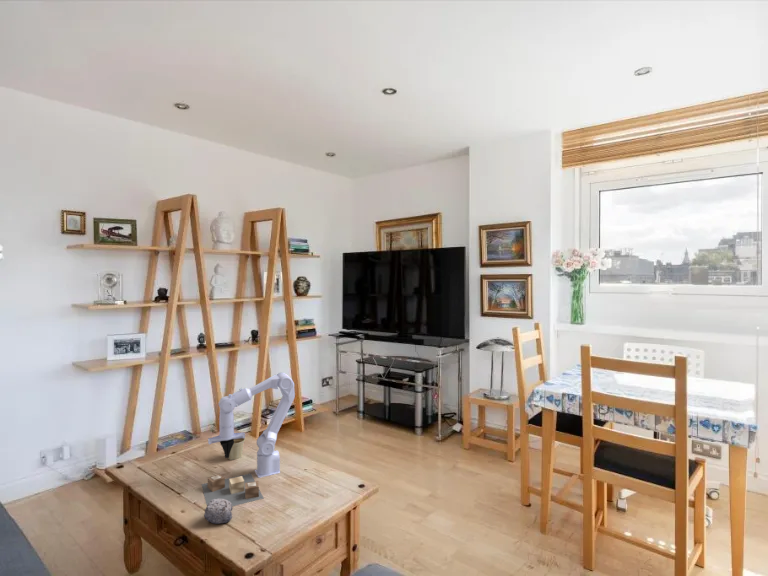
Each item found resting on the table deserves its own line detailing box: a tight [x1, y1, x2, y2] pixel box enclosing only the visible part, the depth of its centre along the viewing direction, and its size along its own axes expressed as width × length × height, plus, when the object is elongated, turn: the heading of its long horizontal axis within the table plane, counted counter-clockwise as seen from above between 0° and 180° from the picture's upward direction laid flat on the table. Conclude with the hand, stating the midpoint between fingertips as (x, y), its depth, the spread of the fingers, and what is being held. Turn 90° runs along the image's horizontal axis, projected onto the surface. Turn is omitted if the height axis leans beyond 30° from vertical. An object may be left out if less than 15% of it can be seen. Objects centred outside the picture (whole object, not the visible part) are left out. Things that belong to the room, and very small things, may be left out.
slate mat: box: [200, 472, 264, 507], centre depth 169 cm, size 20×24×1 cm
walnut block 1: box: [207, 473, 226, 492], centre depth 172 cm, size 5×5×4 cm
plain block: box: [229, 475, 244, 494], centre depth 170 cm, size 5×5×4 cm
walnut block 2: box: [245, 480, 260, 499], centre depth 166 cm, size 5×5×4 cm
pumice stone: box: [203, 499, 233, 525], centre depth 149 cm, size 10×8×10 cm
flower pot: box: [227, 437, 246, 461], centre depth 201 cm, size 9×9×9 cm
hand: (226, 457), depth 178 cm, fingers closed
